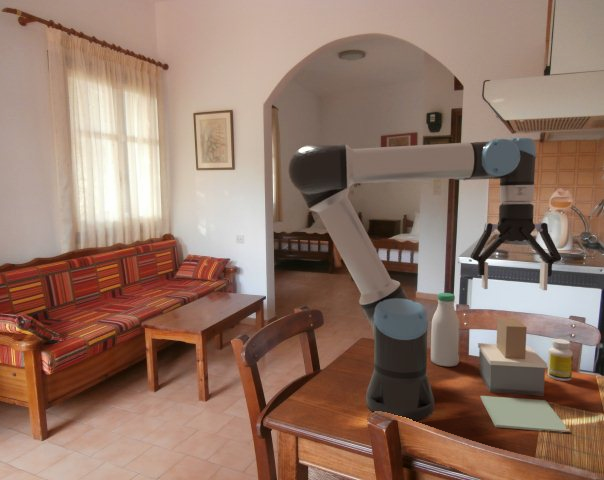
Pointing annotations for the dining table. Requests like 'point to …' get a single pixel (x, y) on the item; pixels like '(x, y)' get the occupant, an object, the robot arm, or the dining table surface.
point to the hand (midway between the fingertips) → (513, 288)
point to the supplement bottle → (560, 360)
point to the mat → (522, 414)
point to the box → (512, 378)
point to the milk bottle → (445, 332)
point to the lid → (511, 346)
